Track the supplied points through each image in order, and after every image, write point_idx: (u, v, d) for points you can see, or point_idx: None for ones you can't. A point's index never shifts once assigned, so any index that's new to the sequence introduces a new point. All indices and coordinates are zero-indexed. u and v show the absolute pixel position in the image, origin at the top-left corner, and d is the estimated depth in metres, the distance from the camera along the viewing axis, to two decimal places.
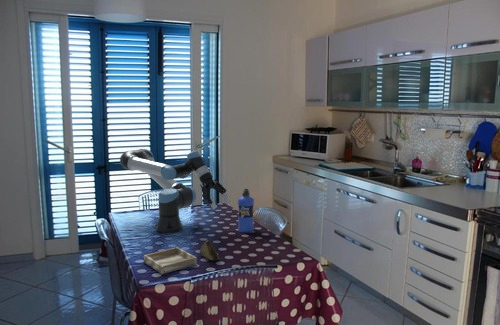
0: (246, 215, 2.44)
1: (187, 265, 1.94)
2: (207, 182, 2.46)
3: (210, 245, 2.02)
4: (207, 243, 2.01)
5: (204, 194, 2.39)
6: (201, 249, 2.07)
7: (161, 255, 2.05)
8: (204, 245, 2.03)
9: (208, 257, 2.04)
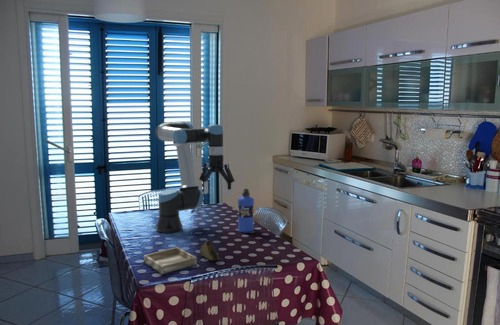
0: (246, 215, 2.44)
1: (187, 265, 1.94)
2: (211, 164, 2.20)
3: (210, 245, 2.02)
4: (207, 243, 2.01)
5: None
6: (201, 249, 2.07)
7: (161, 255, 2.05)
8: (204, 245, 2.03)
9: (208, 257, 2.04)
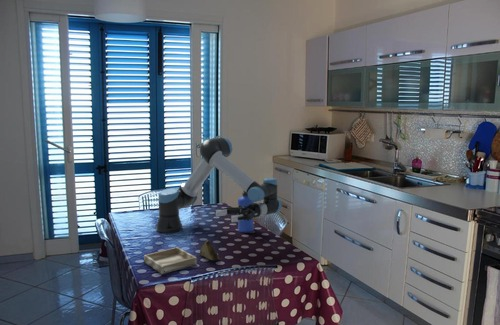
0: None
1: (187, 265, 1.94)
2: None
3: (210, 245, 2.02)
4: (207, 243, 2.01)
5: (250, 217, 2.09)
6: (201, 249, 2.07)
7: (161, 255, 2.05)
8: (204, 245, 2.03)
9: (208, 257, 2.04)
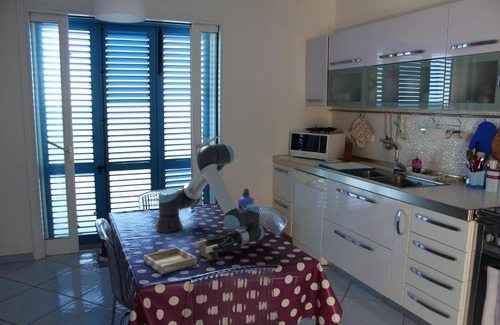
0: None
1: (187, 265, 1.94)
2: None
3: (209, 245, 2.02)
4: (206, 243, 2.02)
5: (226, 247, 2.03)
6: (200, 249, 2.07)
7: (161, 255, 2.05)
8: (203, 245, 2.03)
9: (207, 257, 2.04)
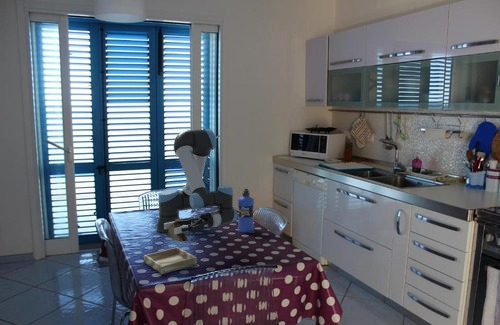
0: (246, 215, 2.44)
1: (187, 265, 1.94)
2: None
3: (178, 226, 1.93)
4: (175, 224, 1.93)
5: (196, 229, 1.94)
6: (169, 230, 1.98)
7: (161, 255, 2.05)
8: (172, 226, 1.94)
9: (176, 238, 1.95)
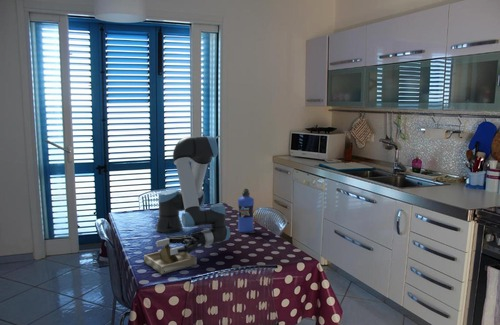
0: (246, 215, 2.44)
1: (187, 265, 1.94)
2: None
3: (169, 249, 1.94)
4: (166, 247, 1.94)
5: (191, 249, 1.94)
6: (161, 253, 1.99)
7: None
8: (163, 249, 1.95)
9: (168, 261, 1.96)
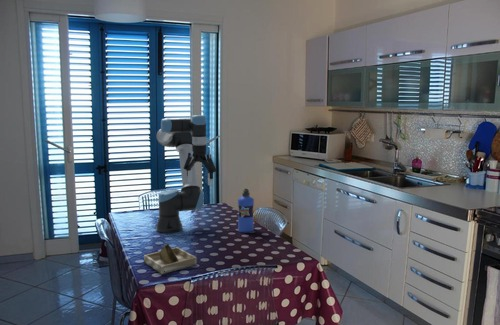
0: (246, 215, 2.44)
1: (187, 265, 1.94)
2: (194, 154, 2.25)
3: (169, 249, 1.94)
4: (166, 247, 1.94)
5: None
6: (161, 253, 1.99)
7: None
8: (163, 249, 1.95)
9: (168, 261, 1.96)
